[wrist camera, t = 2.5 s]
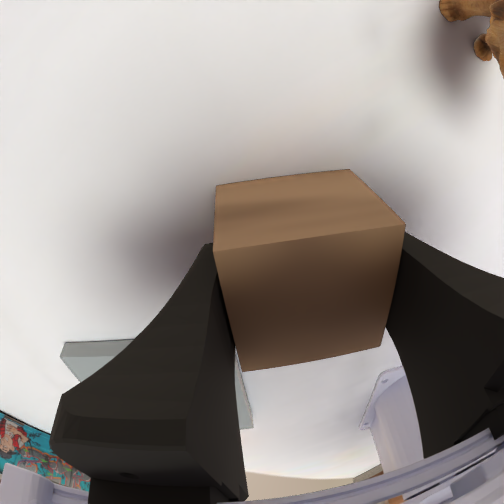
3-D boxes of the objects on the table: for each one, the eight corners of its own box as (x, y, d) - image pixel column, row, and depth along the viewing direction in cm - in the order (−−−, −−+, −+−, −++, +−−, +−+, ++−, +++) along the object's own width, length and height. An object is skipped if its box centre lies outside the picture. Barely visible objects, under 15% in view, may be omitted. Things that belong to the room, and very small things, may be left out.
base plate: (252, 415, 19) (253, 428, 18) (129, 420, 19) (127, 432, 18) (228, 330, 14) (229, 346, 13) (65, 342, 14) (59, 356, 13)
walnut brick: (345, 274, 13) (380, 346, 9) (236, 291, 13) (242, 371, 9) (349, 169, 10) (405, 223, 7) (216, 185, 10) (212, 252, 7)
